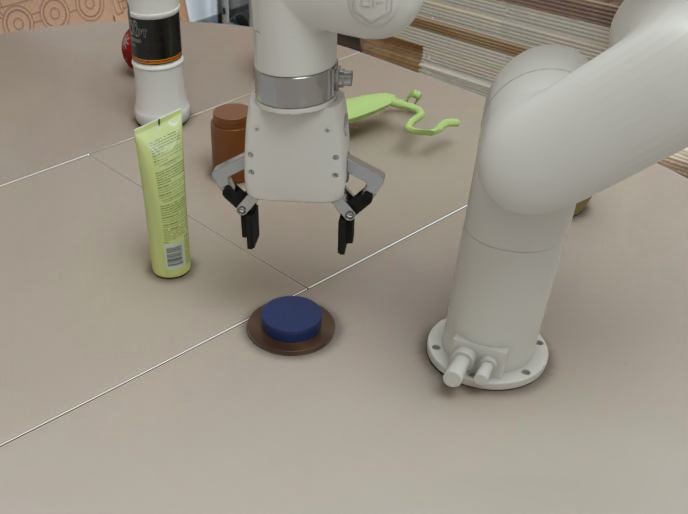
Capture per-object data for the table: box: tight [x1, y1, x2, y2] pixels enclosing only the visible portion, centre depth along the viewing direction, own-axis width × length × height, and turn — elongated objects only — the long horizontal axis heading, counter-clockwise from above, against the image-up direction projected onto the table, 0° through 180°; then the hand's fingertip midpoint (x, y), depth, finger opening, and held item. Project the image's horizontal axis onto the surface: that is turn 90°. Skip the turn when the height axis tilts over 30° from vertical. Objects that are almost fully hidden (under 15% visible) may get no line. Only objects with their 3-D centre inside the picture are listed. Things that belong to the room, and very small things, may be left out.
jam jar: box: [209, 102, 249, 184], centre depth 120 cm, size 6×6×9 cm
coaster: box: [247, 303, 336, 356], centre depth 94 cm, size 10×10×1 cm
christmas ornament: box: [121, 28, 133, 70], centre depth 150 cm, size 9×9×10 cm
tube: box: [133, 108, 192, 279], centre depth 98 cm, size 6×5×20 cm
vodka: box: [125, 0, 191, 126], centre depth 128 cm, size 9×9×30 cm
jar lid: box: [262, 295, 322, 343], centre depth 94 cm, size 7×7×2 cm
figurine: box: [346, 89, 460, 137], centre depth 127 cm, size 18×27×6 cm
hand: (297, 245), depth 88 cm, fingers open, 9 cm apart
